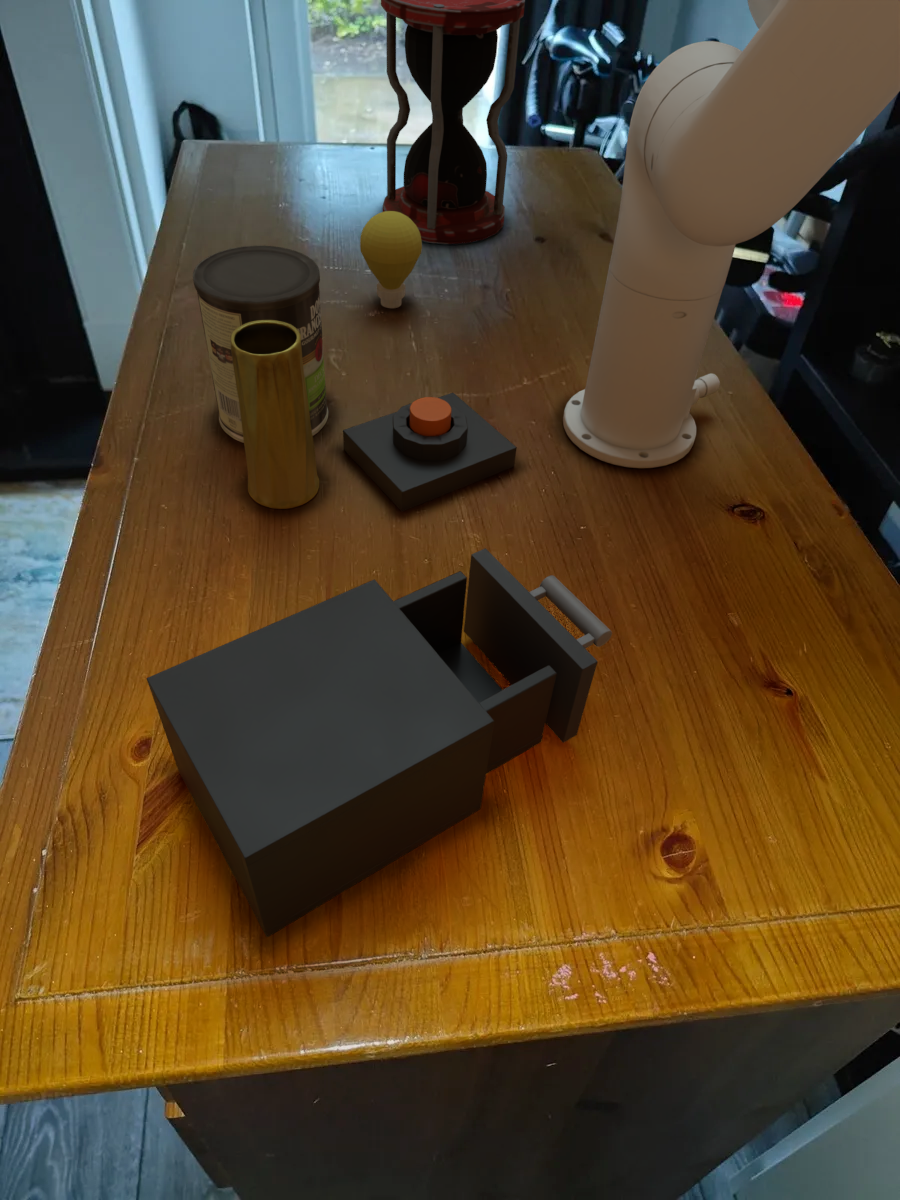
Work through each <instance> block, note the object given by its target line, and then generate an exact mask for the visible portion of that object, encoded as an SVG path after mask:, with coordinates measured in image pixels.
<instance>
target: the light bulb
mask: <svg viewBox="0 0 900 1200" xmlns="http://www.w3.org/2000/svg"><path fill="white" fill-rule="evenodd" d="M359 238H360V239H359V248H360V253H361V255H362V257H363V259H364V260H365V263H366V265H367V267H368V268H369V270H370V271H371V273H372V275H373V276H374V277H375V278H376V280H377V284H376V295H377V297H378V298H379V299H380V305H381V306H382V307H383V308H387V309H396V308H399V307H401V306H402V301H403V300H402V299H403V298H404V297H405V296H406V284H405V283H404V282H405V281H406V279H407V278H408V277H409V275H410V274H411V273H412V271H413V270H414V268H415V266H416V265H417V263H418V260H419V258H420V256H421V254H422V253H423V252H422V251H423V241H421V235H420V232H419V230H418V228H417V226H416V225H415V224H414V222H413V221H412V220H411V219H410V218H409V217H407V216H406V215H404V214H402V213H399V212H395V211H385V212H383V211H381V212H378V213H377V214H375V215H373V216H372V217H370V219H368V221H367V222H366V224H365V225H364V226H363V228H362V231H361V233H360V237H359Z"/></svg>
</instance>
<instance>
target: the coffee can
mask: <svg viewBox="0 0 900 1200" xmlns="http://www.w3.org/2000/svg"><path fill="white" fill-rule="evenodd" d="M192 281H193V285H194V289H195V291H196V295H197V300H198V304H199V310H200V311H199V312H200V316H201V323H202V327H203V333H204V334H203V335H204V337H205V339H204V340H205V344H206V349H207V355H208V361H209V366H210V373H211V378H212V384H213V390H214V394H215V399H216V405H217V411H218V412H217V413H218V422H219V425H220V427H221V429H222V430H223V432H224V433H226V435H228V436H229V437H230V438H232V439H233V440H235V441H237V442H240V443H243V444H244V439H243V430H242V423H241V414H240V405H239V398H238V393H237V387H236V380H235V373H234V367H233V360H232V352H231V335H232V333H233V331H234V330H235V329H236V328H238V327H240V326H241V325H243V324H245V323H248V322H252V321H257V320H276V321H281V322H285V323H288V324H291V325H292V326H294V327H295V328H296V329H297V330H298V331H299V332H300V334H301V348H302V359H303V369H304V377H305V385H306V392H307V398H308V407H309V413H310V423H311V429H312V435H313V437H314V436H315V435H316V434H319V432H320V431H321V430H322V429H323V428H324V426H325V425H326V424H327V422H328V418H329V408H328V401H327V386H326V373H325V372H326V371H325V358H324V357H325V356H324V355H325V354H324V343H323V342H324V341H323V324H322V323H323V322H322V308H321V307H322V306H321V293H320V292H321V291H320V281H321V273H320V268H319V266H318V264H317V263H316V261H315V260H313V258H311V257H309V256H308V255H306V254H304V253H302V252H300V251H297V250H295V249H291V248H288V247H287V248H285V247H281V246H274V245H244V246H237V247H232V248H231V247H230V248H227V249H224V250H221V251H218V252H215V253H213V254H210V255H209V256H207V257H205V258H204V259H202V260H201V261H200V262H199V263H198V264H196V266H195V267H194V269H193V271H192Z"/></svg>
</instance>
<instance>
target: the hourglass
mask: <svg viewBox="0 0 900 1200" xmlns="http://www.w3.org/2000/svg"><path fill="white" fill-rule="evenodd" d="M525 4H526V0H380V6H381V8H382V9H383V10H384V11H385V14H386V74H387V78H388V82H389V85H390V86H391V88H392V89H393V91H394V93H395V95H396V96H397V103H398V113H397V119H396V122H395V123H394V124H393V126H391V128H390V129H389V132H388V135H387V138H386V190H387V191H386V196H385V197H384V199H383V201H382V212H385V211H395V212H399V213H402V214H404V215H406V216H407V217H409V218H410V219H411V220H412V221H413V222H414V224H415V225H416V226H417V228H418V230H419V232H420V235H421V241H422V242H424V243H427V244H428V243H429V244H440V245H461V244H471V243H475V242H479V241H484V240H487V239H488V238H490V237H493V236H494V235H496V234H498V233H499V231H500V230H502V228H503V227H504V225H505V224H504V223H505V211H506V206H505V205H504V198H505V186H506V176H507V165H508V151H507V148H506V144H505V142H504V141H503V139H502V137H501V136H500V131H499V118H500V115H501V110H502V108H503V107H504V106H505V105H506V103H507V102H508V101H509V100H510V98H511V96H512V94H513V91H514V89H515V80H516V69H517V59H518V58H517V57H518V49H519V37H520V36H519V35H520V24H521V19H522V18H523V17H524V14H525V7H526V6H525ZM397 19H400V20H402V21H403V22H404V24H406V27H405V33H404V53H405V63H406V65H407V68H408V70H409V73H410V75H411V77H412V79H413V81H414V82H415V83H416V85H417V87H418V88H419V90H420V91H421V92H422V93H423V95H424V96H425V98H426V99H427V100H428V101H429V103H430V109H431V115H432V116H431V118H432V119H431V123H430V124H429V125H427V127H426V128H425V129H424V130H423V131H422V133H421V134H420V135H418V136H417V138H416V140H415V141H414V142H413V143H412V145H411V146H410V148H409V151H408V153H407V155H406V158H405V161H404V169H403V186H399V187H398V188H397V187H396V186H397V185H396V183H397V182H396V181H397V180H396V179H397V178H396V177H397V176H396V175H397V174H396V173H397V172H396V171H397V141H398V138H399V136H400V132H401V131H402V130H403V129H404V128H405V127H406V126H407V124H408V121H409V117H410V113H411V106H410V102H409V97H408V93H407V91H406V89H405V88H404V87H403V86H402V84H401V82H400V80H399V77H398V73H397ZM507 25H509V27H508V39H507V48H506V49H507V52H506V60H505V71H504V82H503V83H504V85H503V87H502V89H501V91H500V94H499V97H497V98H496V99H495V101H494V102H492V103H491V105H490V107H489V110H488V113H487V117H486V126H487V133H488V136H489V138H490V139H491V141H492V143H493V144H494V147H495V150H496V153H497V165H496V176H495V177H496V179H495V188H494V190H495V191H494V194H493V193H492V192H490V191H487V180H488V168H487V167H488V165H487V161H486V158H485V156H484V155H485V154H484V153H483V150H482V148H481V147H480V145H479V143H478V141H476V139H475V138H474V137H473V135H472V134H471V133H470V131H469V130H468V129H467V127H466V125H464V116H463V115H464V114H463V111H464V110H463V109H464V108H465V107H466V106H467V105H468V104H469V103H471V101H472V100H473V99H474V98H475V97H476V95H478V94H479V92H481V90H482V89H483V87H484V86H486V84H487V83H488V81H489V79H490V77H491V76H492V73H493V71H494V69H495V64H496V58H497V53H498V52H497V51H498V38H499V36H498V30H499V29H500V28H502V27H504V26H507Z"/></svg>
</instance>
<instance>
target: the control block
mask: <svg viewBox="0 0 900 1200" xmlns="http://www.w3.org/2000/svg"><path fill="white" fill-rule="evenodd" d="M437 398H439V399H442V400H444V401H446V402H447V403H448V404H449V405H450V407H451V426H450V429H449V431H448V432H447V433H445V434H442V435H439V436H423V435H420V434H417V433H414V432H413V431H412V430H411V428H410V406H411V404H412V403H413V402H411V403H408V404H404V405H402V406H401V407H400V408H399V409H398V410H397V411H395V412H392V413H388V414H386V415H383V416H380V417H377V418H375V419H371V420H369V421H365V422H362V423H360V424H356V425H354V426H351V427H348V428H345V429H343V430H342V442H343V451H344V452H345V453H346V454H347V455H348V456H349V457H350V458H351V459H352V460H353V461H354V462H355V463H356V465H357V466H358V467H359V468H360V469H361V470H362V471H363V472H364V473H365V474H366V475H367V476H368V477H369V478H370V480H371V481H372V482H374V484H376V486H377V487H378V488H379V489H380V490H381V491H382V492H383V493H384V494H385V495H386V496H387V497H388V499H389V500H390V501H391V502H392V503H393V504H394V505H395V506H396V507H397V508H398V510H399V511H401V512H405V511H407V510H410V509H413V508H414V507H418V506H420V505H422V504H425V503H427V502H429V501H433V500H435V499H437V498H439V497H443V496H444V495H447V494H449V493H452V492H455V491H457V490H459V489H462V488H465V487H467V486H469V485H472V484H474V483H477V482H480V481H482V480H484V479H488V478H489V477H492V476H495V475H497V474H500V473H502V472H504V471H506V470H510V469H511V468H515V464H516V463H515V462H516V456H517V446H516V445H515V444H513V443H512V442H511V441H510V440H509V439H507V438H506V436H504V435H503V434H502V433H501V432H500V431H499V430H497V428H495V427H494V426H493V425H492V424H491V423H489V422H488V421H487V420H486V419H484V418H483V416H481V415H480V413H477V411H476V410H474V409H473V408H472V407H471V406H469V405H468V404H467V403H466V402H465V401H464V400H463V399H462V398H460V397H459V396H458V395H457V394H456V393H455V392H450V393H448V394H444V395H441V396H438V397H437Z"/></svg>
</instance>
